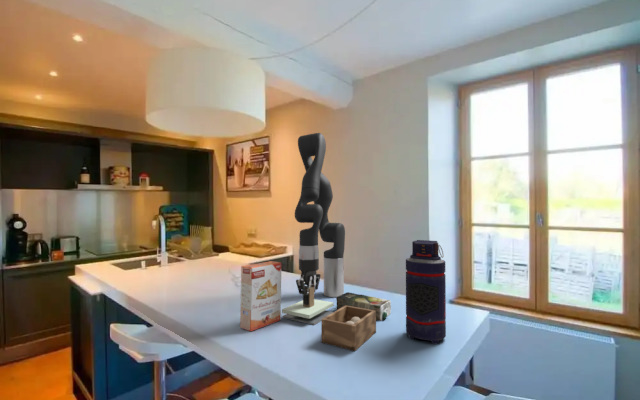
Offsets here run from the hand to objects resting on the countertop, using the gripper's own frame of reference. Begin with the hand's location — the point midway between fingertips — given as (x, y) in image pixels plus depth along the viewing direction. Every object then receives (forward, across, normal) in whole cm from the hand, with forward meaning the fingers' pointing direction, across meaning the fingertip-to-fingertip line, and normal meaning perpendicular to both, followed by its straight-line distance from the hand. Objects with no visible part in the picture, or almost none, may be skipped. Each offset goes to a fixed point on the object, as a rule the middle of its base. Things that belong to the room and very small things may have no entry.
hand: (308, 303), depth 121 cm
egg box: (+5, +10, +22) cm, 25 cm away
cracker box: (+5, +16, -9) cm, 19 cm away
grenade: (+5, -4, +42) cm, 42 cm away
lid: (+2, 0, 0) cm, 2 cm away
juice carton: (+5, -14, +16) cm, 22 cm away
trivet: (+5, 0, 0) cm, 5 cm away
